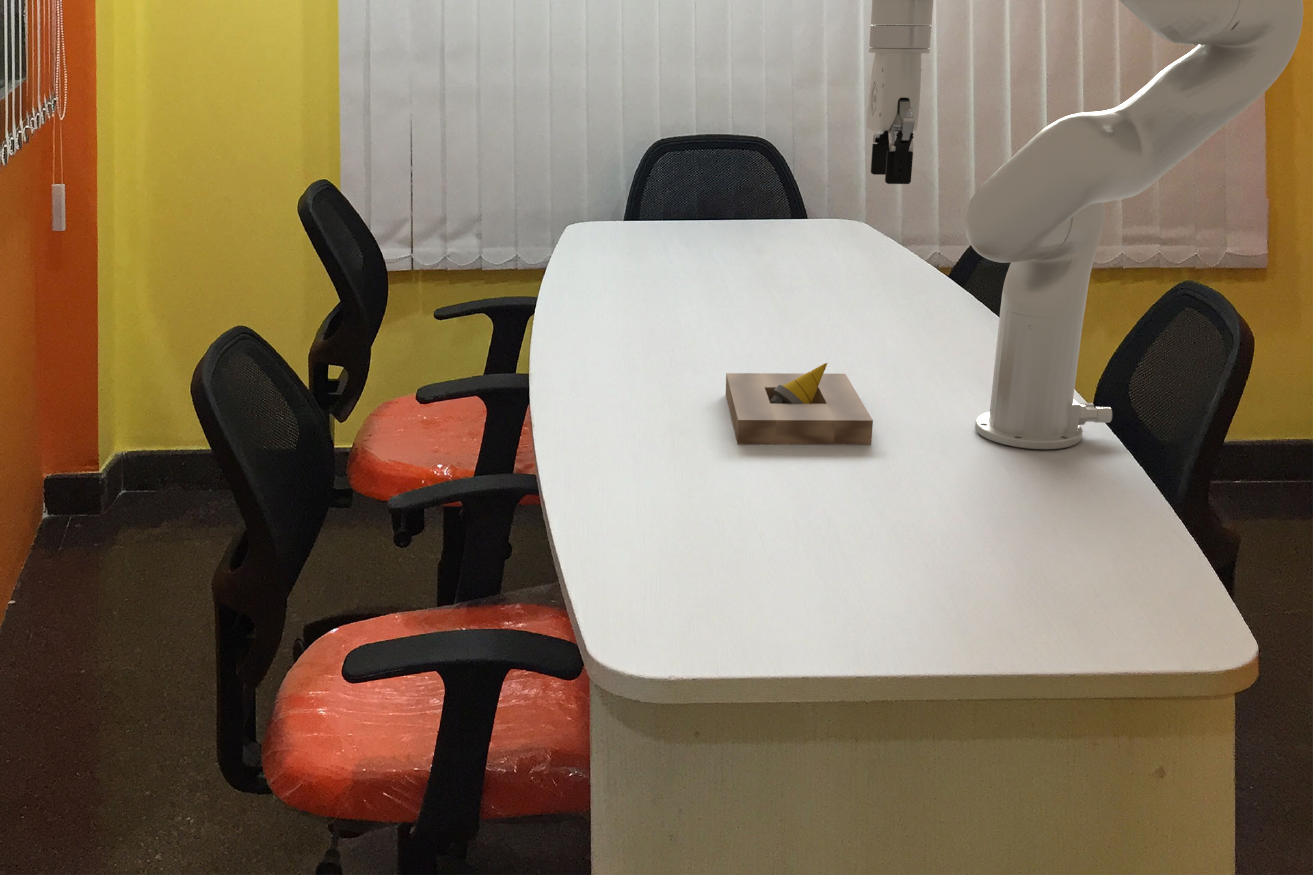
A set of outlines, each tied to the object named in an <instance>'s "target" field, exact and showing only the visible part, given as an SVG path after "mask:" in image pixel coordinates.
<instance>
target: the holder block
mask: <svg viewBox="0 0 1313 875" xmlns="http://www.w3.org/2000/svg"><path fill="white" fill-rule="evenodd" d="M806 373H807V372H806ZM806 373H804V372H803V373H802V372H801V373H799V372H797V373H793V372H792V373H791V372H790V373H788V372H787V373H783V372H781V373H780V372H779V373H777V372H776V373H774V372H772V373H771V372H770V373H768V372H767V373H766V372H765V373H763V372H761V373H760V372H759V373H752V372H749V373H747V372H736V373H735V372H732V373H731V372H727V373H725V398H726V402H727V406H728V410H729V413H730V418H731V424H732V427H733V430H734V431H733V432H734V436H735V439H736V443H737V445H872V443H873V442H872V439H873V428H874V426H873V423H874V420H873V418H872V416H871V415H870V413H869V411H868V410H867V408H866V406H865V404H864V402H863V401H862V399H861V398H860V395H858V393H857V391H856V390H855V388H854V386H853V384H852V382H851V381H850V378H849V377H848V376H847V374H846V373H823V376H822V378H821V381H820V383H819V386H818V388H817V391H816V393H815V395H814V398H813V400H812V403H811V404H771V403H770V400H771V399H772V398H773V397H774V396H775V393H774V389H775V388H776V387H777V386H778V385H782V386H783V385H785V384H787V383H789V382H791V381H793V380H794V381H795V379H796V378H798V377H800V376H802V375H804V374H806Z"/></svg>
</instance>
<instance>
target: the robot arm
mask: <svg viewBox="0 0 1313 875" xmlns="http://www.w3.org/2000/svg"><path fill="white" fill-rule="evenodd" d="M1118 1H1119V2H1120V3H1121V4H1122V5H1123V6H1124V7H1125V8H1127V9H1128V11H1130V13H1131V14H1132V15H1134V16H1135V18H1136V19H1138V20H1139V21H1140V22H1141V23H1142V24H1143V25H1144V26H1145V27H1146V28H1147V29H1148V30H1149V31H1151V32H1152V33H1153V34H1155V35H1156V36H1157V37H1159V38H1161V39H1163V40H1165V41H1166V42H1167V41H1168V42H1169V43H1173V44H1178V45H1184V46H1196V47H1195V48H1193V49H1192V50H1191V51H1189V52H1188V53H1187V54H1185V55H1183V56H1182V57H1180V58H1178V59H1177V60H1175V61H1174V62H1172V63H1171V64H1169V65H1167V66H1166V67H1164V69H1162V70H1161V71H1159V72H1158V73H1157V74H1156V75H1155V76H1154V77H1153V78H1151V80H1149V82H1147V84H1146V85H1144V86H1143V87H1142V88H1141V89H1139V90H1138V91H1137V92H1135V93H1134V94H1133V95H1132V96H1131V97H1129V98H1128V99H1126V100H1125V101H1124V102H1123V103H1121V104H1119V105H1118V106H1116V107H1113V108H1110V109H1106V110H1100V111H1088V112H1077V113H1073V114H1070V115H1066V116H1064V117H1061V118H1059V119H1057V120H1056V121H1054V122H1052V123H1050V124H1049V125H1047V126H1046V127H1044V128H1043V129H1042V130H1040V131H1039V132H1038V133H1036V134H1035V135H1034V136H1033V137H1032V138H1031V139H1030V140H1028V142H1027V143H1025V144H1024V146H1022V147H1021V148H1020V149H1019V150H1018V151H1017V152H1016V153H1015V154H1013V155H1012V156H1011V157H1010V158H1009V159H1008V160H1006V162H1004V163H1003V164H1002V165H1001V166H1000V167H999V168H998V169H996V171H995V172H994V173H993V174H991V176H989V177H988V178H987V179H986V180H985V181H984V182H983V183H982V184H981V186H980V187H979V188H978V189H977V190H976V191H975V193H974V194H973V196H972V198H971V199H970V202H969V204H968V206H967V209H966V212H965V218H964V230H965V235H966V238H967V240H968V242H969V245H970V246H971V247H972V249H973V250H974V251H975V252H976V253H977V254H978V255H980V256H981V257H983V258H985V259H986V260H988V261H992V262H994V263H995V262H996V263H1003V264H1005V263H1008V264H1009V263H1010V264H1009V267H1008V270H1007V272H1006V276H1005V278H1004V282H1003V287H1002V293H1001V302H1000V310H999V319H998V329H997V330H998V331H997V340H996V348H995V358H994V368H993V378H992V384H991V385H992V386H991V388H992V389H991V394H990V406H989V411H986V412H983V413H982V414H980V415H978V416H977V417H976V420H975V423H974V424H975V425H974V428H975V431H976V432H977V434H979V435H980V436H982V437H983V438H985V439H987V440H988V441H989V440H990V441H992V442H995V443H998V444H1001V445H1003V446H1005V445H1006V446H1008V447H1009V446H1010V447H1013V448H1014V447H1015V448H1020V449H1028V450H1029V449H1030V450H1060V449H1065V448H1069V447H1072V446H1075V445H1077V444H1078V443H1080V442H1081V440H1083V432H1084V431H1083V428H1082V427H1081V426H1084V425H1085V424H1086V423H1088V422H1091V423H1095V424H1097V423H1100V424H1101V423H1103V424H1104V423H1105V424H1107V423H1111V422H1112V420H1113V409H1112V408H1111V406H1095V404H1094V403H1093V402H1081V403H1079V402H1078V400H1076V399H1075V398H1074V395H1075V388H1076V379H1077V373H1078V372H1077V371H1078V365H1079V364H1078V362H1079V357H1080V348H1081V342H1082V340H1081V339H1082V332H1083V323H1084V317H1085V311H1086V305H1087V297H1088V290H1089V283H1090V279H1091V278H1090V277H1091V272H1092V268H1093V264H1094V261H1095V257H1096V254H1097V250H1098V247H1099V244H1100V241H1101V239H1102V235H1103V231H1104V226H1105V220H1106V219H1105V218H1106V207H1105V206H1106V204H1105V203H1108V202H1115V201H1120V200H1125V199H1130V198H1132V197H1135V196H1137V195H1140V194H1141V193H1142V192H1144V191H1145V190H1147V189H1148V188H1151V186H1152V185H1153V184H1154V183H1156V182H1157V181H1158V180H1159V179H1160V178H1162V177H1163V176H1164V175H1165V174H1166V173H1168V172H1169V171H1170V170H1172V169H1173V168H1174V167H1175V166H1178V164H1179V163H1180V162H1182V161H1183V160H1185V159H1186V158H1187V157H1188V156H1190V154H1192V153H1193V152H1194V151H1196V150H1197V149H1198V148H1200V147H1201V146H1202V145H1203V144H1204V143H1205V142H1206V141H1208V140H1209V139H1210V138H1212V137H1213V135H1215V134H1216V133H1217V132H1218V131H1219V130H1221V129H1222V128H1224V127H1225V126H1226V125H1227V124H1228V123H1230V122H1231V121H1232V120H1234V119H1236V117H1237V116H1239V115H1240V114H1242V113H1243V112H1244V111H1245V110H1246V109H1248V108H1249V107H1250V106H1251V105H1252V104H1254V103H1255V102H1256V101H1257V100H1258V99H1259V98H1260V97H1261V96H1262V95H1263V94H1264V93H1266V92H1267V91H1268V90H1269V88H1271V87H1272V85H1274V83H1275V82H1276V81H1277V79H1278V78H1279V77H1280V75H1282V73H1283V72H1284V70H1285V69H1286V67H1287V66H1288V64H1289V62H1290V60H1291V59H1292V57H1293V55H1294V53H1295V51H1296V48H1297V46H1298V42H1299V40H1300V36H1301V32H1302V29H1303V28H1302V27H1303V21H1304V20H1303V19H1304V1H1303V0H1118ZM933 9H934V0H871V17H870V30H869V44H868V45H869V46H868V53H871V54H872V53H874V58H873V63H872V68H871V75H870V83H869V84H870V86H869V94H868V106H867V115H866V127H867V128H868V129H869V130H870V131H871V132H873V139H872V140H873V141H872V142H873V143H872V146H871V147H872V148H871V160H870V162H871V163H870V173H871V174H872V175H880V176H881V175H882V176H883V175H884V182H885V183H886V184H888V185H909V184H911V182H912V172H913V171H912V170H913V159H914V151H913V150H914V133H915V132H916V131H917V128H918V123H919V113H920V102H921V82H922V81H921V80H922V71H923V70H922V54H930V51H931V50H930V48H931V34H932V24H933V21H932V20H933Z"/></svg>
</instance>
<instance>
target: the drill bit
mask: <svg viewBox="0 0 1313 875" xmlns="http://www.w3.org/2000/svg"><path fill="white" fill-rule="evenodd" d="M827 365H828V362H826V363H822V364H821V365H819V366H818V367H816V368H813V369H811V370H810V371H808V372H806V374H804V375H802V376H800V377H798V378H796V379H795V381H794V380H793V381H791V382H789V383H787V384H785V385H783V386H782V385H778V386H777V387H776V388H775V389H774V393H775V396H774V397H773V398H772V399H771V400H770V403H771V404H811V403H812V400H813V398H814V395H815V393H816V391H817V388H818V386H819V383H820V381H821V378H822V376H823V374H825V370H826V368H827Z"/></svg>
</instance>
